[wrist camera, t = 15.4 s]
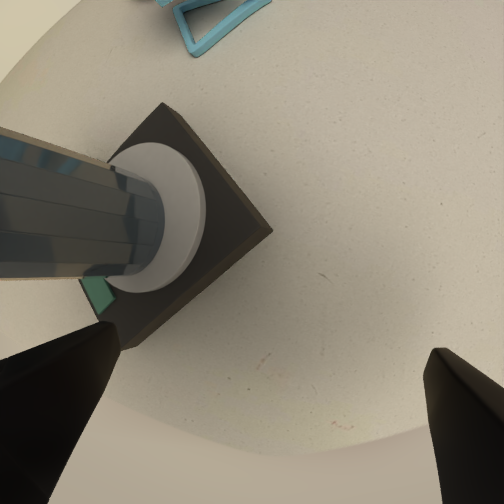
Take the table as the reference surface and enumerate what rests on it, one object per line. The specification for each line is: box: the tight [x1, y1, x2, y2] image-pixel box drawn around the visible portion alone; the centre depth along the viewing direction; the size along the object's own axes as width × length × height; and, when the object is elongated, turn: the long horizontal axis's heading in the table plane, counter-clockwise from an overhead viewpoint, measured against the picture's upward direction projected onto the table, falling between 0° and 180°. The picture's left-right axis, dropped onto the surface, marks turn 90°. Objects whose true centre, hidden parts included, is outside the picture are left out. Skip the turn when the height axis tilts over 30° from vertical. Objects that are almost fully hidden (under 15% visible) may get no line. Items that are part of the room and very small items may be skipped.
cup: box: [0, 127, 165, 281], centre depth 14 cm, size 7×7×13 cm
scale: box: [78, 102, 273, 351], centre depth 22 cm, size 14×12×3 cm
